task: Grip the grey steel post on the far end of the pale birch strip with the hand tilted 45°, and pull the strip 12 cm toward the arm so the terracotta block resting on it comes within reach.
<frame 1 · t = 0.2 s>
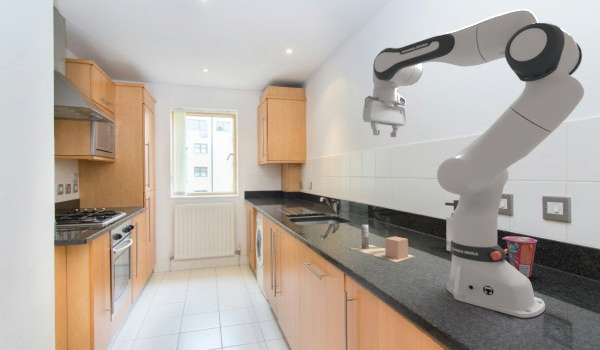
hand: (385, 136, 108), 48 cm above the worktop, tool pointing down, fingers open, 8 cm apart
cup: (520, 275, 97), on the worktop
terracotta block: (396, 256, 114), point 1 cm above the worktop, touching birch strip
soap dispenser: (455, 250, 127), on the worktop
birch strip: (381, 241, 120), point 6 cm above the worktop, slide at 0.0 cm, touching terracotta block
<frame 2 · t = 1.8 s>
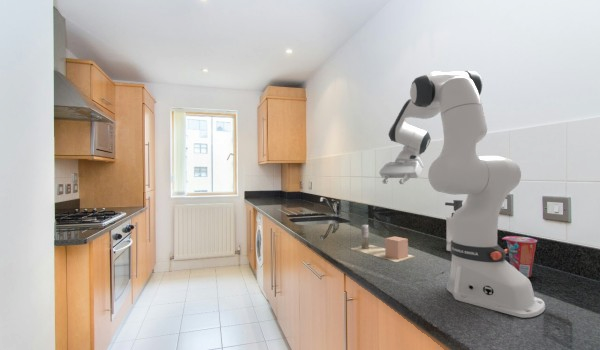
hand: (392, 183, 134), 30 cm above the worktop, tool tilted 45°, fingers open, 8 cm apart
nothing on the worktop moved.
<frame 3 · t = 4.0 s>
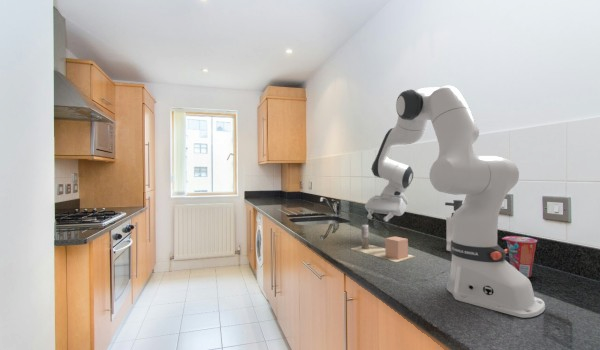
hand: (376, 219, 132), 13 cm above the worktop, tool tilted 45°, fingers open, 8 cm apart
nothing on the worktop moved.
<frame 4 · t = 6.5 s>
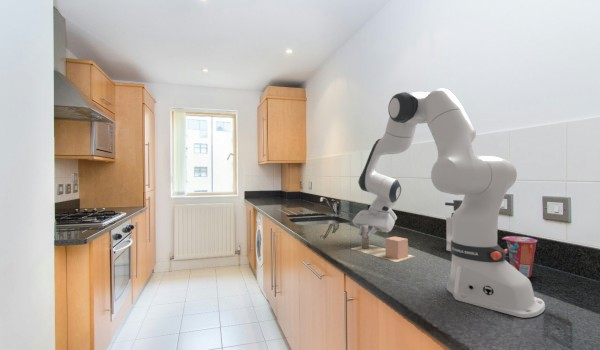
hand: (364, 235, 128), 7 cm above the worktop, tool tilted 45°, fingers closed on birch strip, 3 cm apart
birch strip: (381, 241, 120), point 6 cm above the worktop, slide at 0.0 cm, touching gripper, terracotta block
everything else where it was.
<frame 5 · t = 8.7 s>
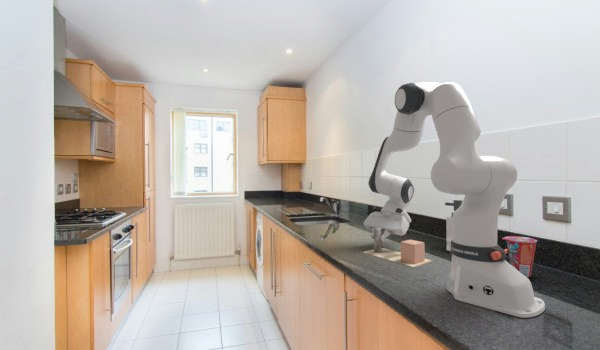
hand: (376, 238, 122), 7 cm above the worktop, tool tilted 45°, fingers closed on birch strip, 3 cm apart
terracotta block: (412, 260, 108), point 1 cm above the worktop, touching birch strip
birch strip: (395, 245, 115), point 6 cm above the worktop, slide at 7.1 cm, touching gripper, terracotta block
everything else where it was.
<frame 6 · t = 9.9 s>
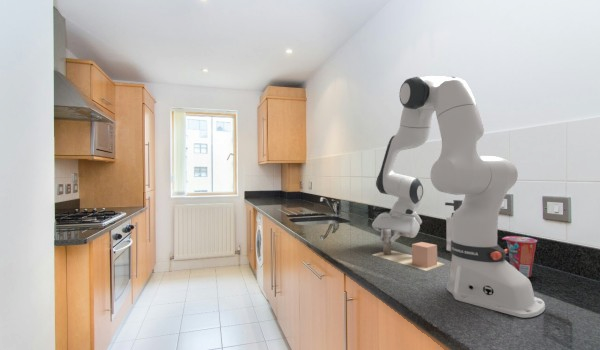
hand: (386, 240, 118), 7 cm above the worktop, tool tilted 45°, fingers closed on birch strip, 3 cm apart
terracotta block: (424, 264, 104), point 1 cm above the worktop, touching birch strip
birch strip: (406, 247, 111), point 6 cm above the worktop, slide at 12.0 cm, touching gripper, terracotta block
everything else where it was.
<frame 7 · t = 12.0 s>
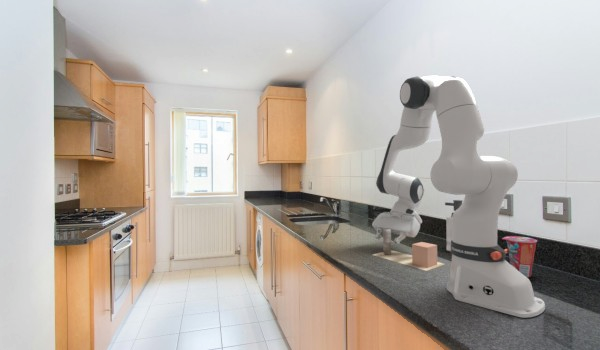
hand: (386, 240, 118), 7 cm above the worktop, tool tilted 45°, fingers open, 8 cm apart
birch strip: (406, 247, 111), point 6 cm above the worktop, slide at 12.0 cm, touching terracotta block
everything else where it was.
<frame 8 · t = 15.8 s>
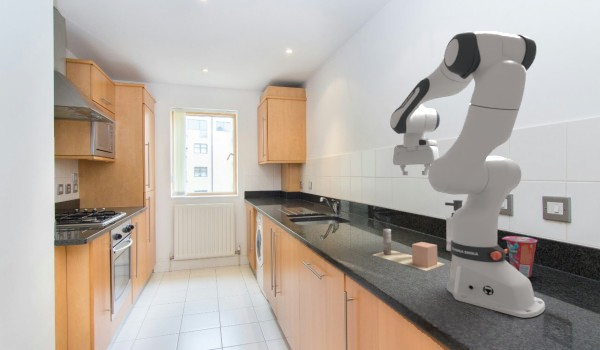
hand: (414, 175, 125), 33 cm above the worktop, tool pointing down, fingers open, 8 cm apart
nothing on the worktop moved.
at the end: birch strip slide at 12.0 cm; terracotta block inside the target area (0.0 cm from its centre), point 1.4 cm above the worktop; terracotta block tilted 0° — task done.
